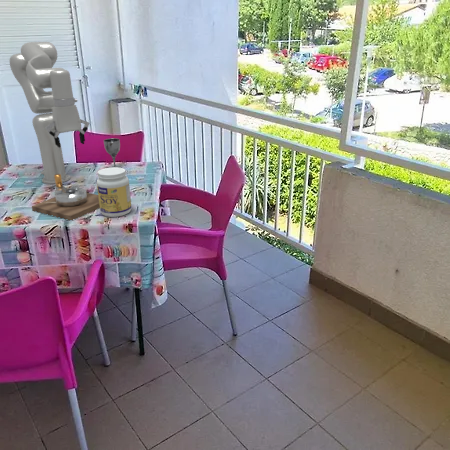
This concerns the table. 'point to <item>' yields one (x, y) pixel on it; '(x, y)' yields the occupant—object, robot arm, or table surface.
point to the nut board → (68, 208)
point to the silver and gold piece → (68, 194)
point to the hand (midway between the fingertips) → (70, 145)
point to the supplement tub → (113, 192)
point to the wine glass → (112, 147)
